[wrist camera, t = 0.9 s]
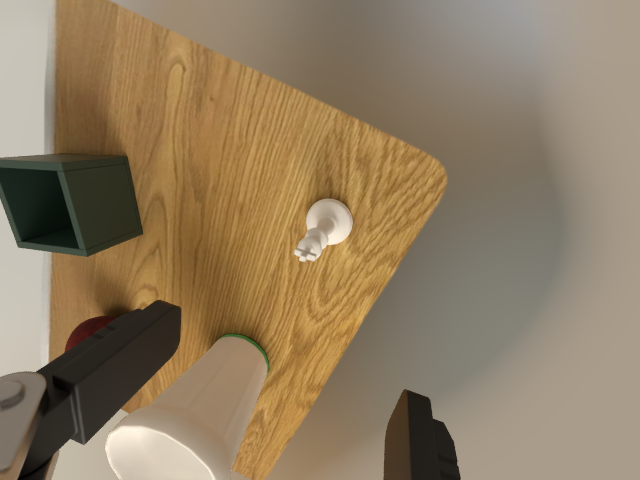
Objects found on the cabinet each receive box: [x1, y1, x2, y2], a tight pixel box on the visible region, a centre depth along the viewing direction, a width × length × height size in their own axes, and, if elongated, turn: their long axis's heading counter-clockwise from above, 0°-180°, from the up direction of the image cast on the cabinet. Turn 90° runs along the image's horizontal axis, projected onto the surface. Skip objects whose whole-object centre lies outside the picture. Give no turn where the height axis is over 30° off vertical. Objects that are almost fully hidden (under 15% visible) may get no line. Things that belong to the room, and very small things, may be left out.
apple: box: [65, 316, 116, 352], centre depth 41 cm, size 7×8×8 cm
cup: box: [105, 334, 269, 480], centre depth 34 cm, size 12×12×15 cm
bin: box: [0, 154, 143, 257], centre depth 34 cm, size 10×10×8 cm
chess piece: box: [294, 199, 353, 262], centre depth 27 cm, size 5×5×10 cm
